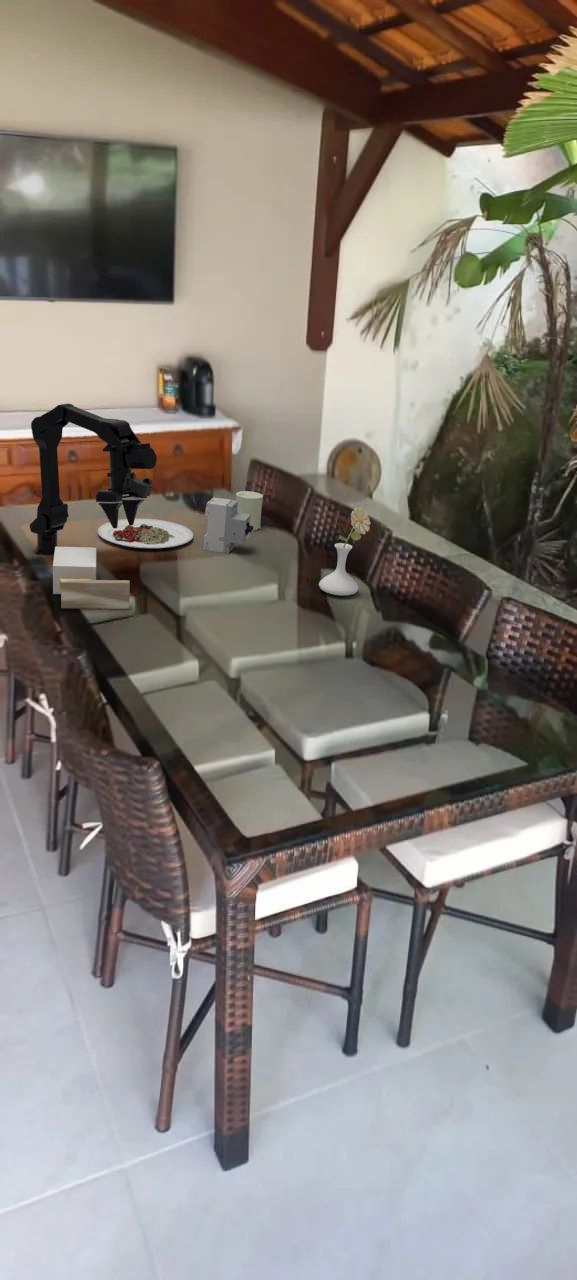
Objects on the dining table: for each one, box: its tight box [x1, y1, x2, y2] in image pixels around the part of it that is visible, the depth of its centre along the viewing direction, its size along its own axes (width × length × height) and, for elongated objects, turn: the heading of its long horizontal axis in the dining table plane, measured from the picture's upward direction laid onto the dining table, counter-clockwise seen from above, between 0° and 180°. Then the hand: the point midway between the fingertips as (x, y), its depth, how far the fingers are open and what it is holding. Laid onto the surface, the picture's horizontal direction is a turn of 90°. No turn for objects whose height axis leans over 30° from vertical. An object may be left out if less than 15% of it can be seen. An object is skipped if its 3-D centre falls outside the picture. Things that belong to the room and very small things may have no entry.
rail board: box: [60, 579, 131, 610], centre depth 235 cm, size 3×17×7 cm, turn 102°
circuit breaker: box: [202, 497, 254, 554], centre depth 287 cm, size 8×14×15 cm, turn 78°
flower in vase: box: [318, 506, 371, 596], centre depth 259 cm, size 13×11×25 cm
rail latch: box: [59, 579, 91, 590], centre depth 238 cm, size 1×8×2 cm, turn 102°
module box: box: [52, 546, 97, 595], centre depth 249 cm, size 16×11×8 cm
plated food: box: [97, 518, 194, 550], centre depth 293 cm, size 30×30×3 cm
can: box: [235, 490, 264, 529], centre depth 311 cm, size 9×9×12 cm
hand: (123, 526), depth 252 cm, fingers open, 9 cm apart
